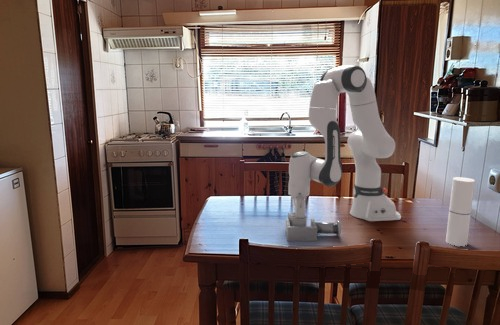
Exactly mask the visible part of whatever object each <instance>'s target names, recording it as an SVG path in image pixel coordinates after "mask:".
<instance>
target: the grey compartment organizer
mask: <svg viewBox="0 0 500 325" xmlns="http://www.w3.org/2000/svg"><path fill="white" fill-rule="evenodd" d="M318 234H320V235H322V234H325V235H326V234H329V235H336V237H341V234H342V224H341V221H340V220H338V219H337V220H335V222H321V221H320V222H316V221H315V218H310V226H307V225H306V226H290V221H289V218H288V217H286V218H285V236H286V241H288V242H317V241H318Z"/></svg>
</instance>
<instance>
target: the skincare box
mask: <svg viewBox="0 0 500 325" xmlns="http://www.w3.org/2000/svg"><path fill="white" fill-rule="evenodd" d="M287 218H289V221H290V226H306V227H307V216H306V215H305V218H304V219H297V218H296V215H295V211H294V212H288V213H287Z"/></svg>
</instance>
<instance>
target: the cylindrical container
mask: <svg viewBox="0 0 500 325" xmlns="http://www.w3.org/2000/svg"><path fill="white" fill-rule="evenodd" d="M451 183H452V184H451V191H450V198H449V199H450V200H449V206H448V207H449V209H448V218H447V224H446V225H447V227H446V235H445V236H446V237H445V242H446V244H448V243H449V244H448V245H450V244H451V246H454V245H455V246H454V247H460V246H463V247H466V246H467V245H468V240H469V230H470V225H471V224H470V223H471V216H472V207H473V199H474V191H475V184H476V180H475V179H474V178H470V177H464V176H454V177H452V182H451ZM465 245H466V246H465Z"/></svg>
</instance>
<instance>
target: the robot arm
mask: <svg viewBox="0 0 500 325" xmlns="http://www.w3.org/2000/svg"><path fill="white" fill-rule="evenodd" d="M344 93H346V94H347V96H348V100H349V104H350V105H349V106H350V111H351V117H352V121H353V124H354V125H356V127H357V128H358V130H354V131H353V132H351V133H350V134H349V135H348V137H347V142H346V143H347V147H348V148H349V149H350V151H351V154H352V157H353V161H354V165H355V176H354V178H355V182H354V185H353V189H352V190H353V192H352V194H353V198H352V199H353V201H352V204H351V205H352V206H351V207H350V211H349V214H350V215H351V216H352V217H354V218H358V219H361V220H365V221H367V222H382V221H399V220H401V219H402V216H401V214H400V212H398V211H397V208H396V204H395V203H394V201H393V200H391V199H390V197H388V196H387V195H386V194H387V193H388V189H387V188H386V187H383V186H381V181H382V180H381V179H382V178H381V177H382V169H381V167H380V165H379V164H378V162H377V159H387V158H390V157H391V156H393V154H394V153H395V151H396V141H395V140H394V138H393V137H392V136H391V135H390V134H389V133H388V132H387V130H386V128H385V127H384V124H383V122H382V120H381V117H380V113H379V107H378V102H377V97H376V92H375V88H374V86H373V83H372V81H371V79H370V78H369V77H367V74H366V72H365V70H364V69H363V68H362V67H361V66H359V65H357V64H356V65H355V64H351V65H339V66H335V67H330V68H328V69H326V70H325V71H324V72H323V73H322V75H321V77H320V80H319V81H318V82H316V83H315V84H314V86H313V88H312V92H311V95H310V100H309V109H308V120H309V123H310V125H311V126H312V127H313V128H314V129H315V130H317V131H318V132H319V133H320V135H321V136H322V137H323V139H324V144H325V146H324V147H325V148H324V150H325V151H324V154H325V158H324V159H322V158H318V157H316V156H313V155H312V154H310V152H307V151H296V152H293V153H292V154H291V155H290V158H289V164H288V174H289V180H288V193H287V194H288V196H290V197H291V203H292V206H293V210H294V212H295V215H296V218H297V219H304V218H305V216H306V199H307V197H309V196H310V191H311V190H310V187H311V183H310V182H311V181H315V182H317V183H320V184H322V185H324V186H326V187H330V188H331V187H334V186H335V185H337V184H338V183H339V182H340V181H341V179H342V177H343V169H342V168H343V167H342V162H341V160H342V159H341V129H340V126H339V124H338V121H337V105H338V97H339V95H340V94H344Z"/></svg>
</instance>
